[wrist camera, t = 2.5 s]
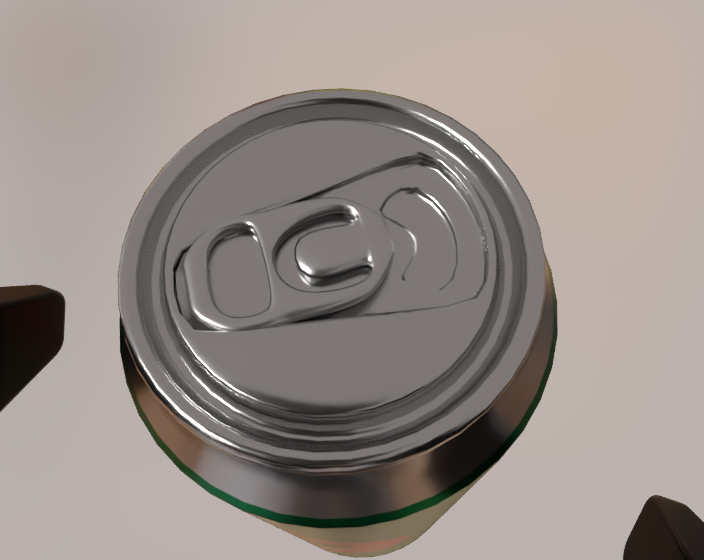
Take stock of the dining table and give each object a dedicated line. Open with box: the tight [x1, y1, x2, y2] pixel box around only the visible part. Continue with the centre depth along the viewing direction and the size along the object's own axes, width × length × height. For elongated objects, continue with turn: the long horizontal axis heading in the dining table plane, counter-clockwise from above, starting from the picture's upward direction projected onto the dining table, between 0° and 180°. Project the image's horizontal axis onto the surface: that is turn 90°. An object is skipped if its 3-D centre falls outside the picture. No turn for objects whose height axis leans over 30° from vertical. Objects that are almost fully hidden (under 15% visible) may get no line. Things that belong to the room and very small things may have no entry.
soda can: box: [118, 89, 557, 557], centre depth 12 cm, size 5×5×12 cm
